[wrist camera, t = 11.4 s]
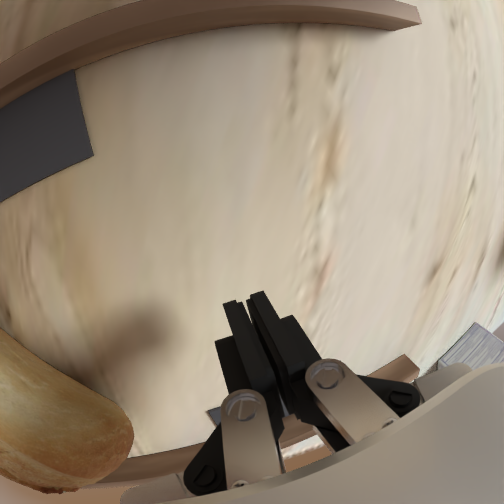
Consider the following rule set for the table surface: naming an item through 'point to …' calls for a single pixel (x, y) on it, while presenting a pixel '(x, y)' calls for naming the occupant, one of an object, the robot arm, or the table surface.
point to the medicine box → (475, 349)
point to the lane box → (166, 26)
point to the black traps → (46, 141)
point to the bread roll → (55, 425)
